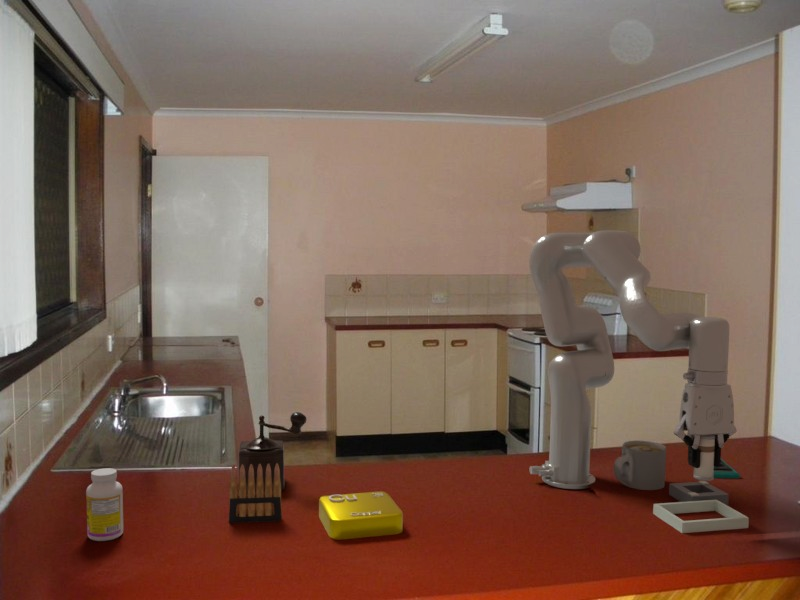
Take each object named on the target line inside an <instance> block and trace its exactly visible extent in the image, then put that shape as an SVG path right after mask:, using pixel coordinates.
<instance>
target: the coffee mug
mask: <svg viewBox="0 0 800 600" xmlns="http://www.w3.org/2000/svg"><path fill="white" fill-rule="evenodd" d="M666 461H667V447H666V445H664V444H662V443H659V442H655V441H648V440H639V439H638V440H636V439H635V440H628V441H624V442H623V443H622V447H621V456H618V457H617V458H616V459H615V461H614V464H613V474H614V477H615V478H616V479H617V480H618V481H620V483H621V484H623V485H624V486H626V487H628V488H632V489H635V490H641V491H656V490H661V489H663V488H665V485H666V484H665V483H666V466H667V465H666V463H667V462H666Z"/></svg>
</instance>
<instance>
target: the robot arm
mask: <svg viewBox="0 0 800 600" xmlns="http://www.w3.org/2000/svg"><path fill="white" fill-rule="evenodd" d="M640 255H641V244H640V242H639V240H638V239H637V237H636V236H635V235H634V234H633V233H632V232H629V231H626V230H617V229H616V230H615V229H613V230H611V229H609V230H608V229H607V230H606V229H605V230H604V229H603V230H598V231H594V232H571V231H570V232H568V231H567V232H563V231H562V232H550V233H546V234H545V235H543V236H541V237H539V238H538V239H537V240H536V241H535V243H534V244H533V246H532V248H531V250H530V254H529V258H528V259H529V260H528V264H529V272H530V275H531V279H532V282H533V285H534V287H535V291H536V294H537V298H538V299H537V300H538V303H539V308H540V314H541V318H542V323H543V326H544V327H543V328H544V332H545V336H546V338H547V340H548V342H549V343H550V344H551V345H553V346H555V347H570V346H576V350H571V351H565V352H561V353H558V354H557V355H556V356H554V357H553V358H552V360H550V362H549V364H548V367H547V379H548V384H549V386H548V387H549V392H550V422H549V423H550V427H549V452H548V453H549V456H548V460H544V461H545V462H544V464H542V465H539V466H538V465H530V466H529V469H528V470H529V473H530V475H538V477H541V480H542V481H543V482H544V483H545V484H546V485H549V486H551V487H554V488H560V489H566V490H584V489H588V488H589V489H590V486H589V485H592V484H595V482H596V477H595V476H594V475H593V474H591V473H590V463H591V462H590V460H591V437H592V436H591V432H592V431H591V430H592V429H591V428H592V407H591V402H590V400H589V397H588V394H587V390H592V389H597V388H601V387H604V386H606V385H608V384H609V383H610V382H611V381H612V380H613V377H614V375H615V361H614V356H613V351H612V348H611V343H610V338H609V334H608V330H607V325H606V321H605V320H604V317H603V316H602V314H601V313H600V312H599V310H597V309H596V308H595V307H593V306H589V305H586V304H585V305H583V304H582V305H578V304H577V301H576V298H575V293H574V289H573V286H572V284H571V282H570V280H569V278H568V277H567V276H566V275H565V274H564V272H563V269H564V268H565V269H569V268H593V269H594V270H595V272H597V274H598V275H599V276H600V277H601V278H602V279H603V280H604V281H605V283H606V284H607V285H608V286H609V288H610V289H612V291H613V292H614V293H615V294H616V295H617V296H618V304H619V309H620V312H621V316H622V319H623V321H624V323H625V324H626V325H627V327H628V328H629V329H630V330H631V331H632V333H633V334H634V335H635V336H636V337H637V339H639V340H640V342H641V343H642V344H644V345H645V346H646V347H648V348H649V349H651V350H654V351H656V352H666V351H670V350H672V351H673V350H682V349H688V367H687V368H688V369H687V372H684V373H683V375H682V377H683V380H685V381H686V380H687V383H685V384H684V388H683V392H682V396H681V401H680V407H679V408H680V409H679V422H678V423H677V425H676V427H675V428H674V430H673V435H675V436H677V437H678V438H679V439H681V440H682V441H683V443H685V446H687V463H688V465H689V466H690V467H692V468H694V467H695V468H699V467H700V453H701V450H700V449H698V445H699V440H700V435H715V451H714V466H716V467H719V466H720V460H721V459H722V457H721V456H722V448H724V446H725V443H726V442H727V441H728V440H729V439H730V437H732V436H733V435H735V434H736V432H737V430H738V429H737V428H736V426H735V404H734V396H733V390H732V386H731V385H730V384H728V372H729V371H728V368H729V367H728V366H729V353H730V351H729V350H730V348H729V347H730V323H729V321H728V320H727V319H725V318H722V317H717V316H716V317H714V316H700V315H696V314H693V313H688V312H675V313H674V312H673V313H661V312H660V311H659V310H658V309H657V308H656V307H655V306H654V305H653V303H651V301H649V299H648V297H647V296H646V293H645V291H644V290H645V289H646V288H647V287H648V285H649V283H650V280H651V272H650V270H648V268H647V267H646V266H645V265H644V264H643V263H642V262H641V261H640V260H639V258H640ZM685 431H687V433H685Z"/></svg>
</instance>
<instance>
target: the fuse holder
mask: <svg viewBox="0 0 800 600" xmlns="http://www.w3.org/2000/svg"><path fill="white" fill-rule="evenodd" d="M668 495H669V496H670V497H672V498H674V499H675V500H677V501H678V502H689V501H703V500H718V501H720V502H722V503H724V504H725V505H727V506H729V496H730V494H729V493H727V492H725V491H724V490H721V489H719V488H718V487H716V486H714V485H712V484H711V483H709V481H702V480H698V481H695V482H694V481H693V482H692V481H690V482H675V483H669V486H668Z"/></svg>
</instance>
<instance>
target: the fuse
mask: <svg viewBox="0 0 800 600" xmlns="http://www.w3.org/2000/svg"><path fill="white" fill-rule="evenodd" d="M698 449H700V450H701V453H700V467H699V468H695V467H693V475H692V476H693V478H694V479H695V480H698V481H706V482H711V481H713V480H714V479H715V478H714V476H713V473H714V451H715V435H700V440H699V445H698Z"/></svg>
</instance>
